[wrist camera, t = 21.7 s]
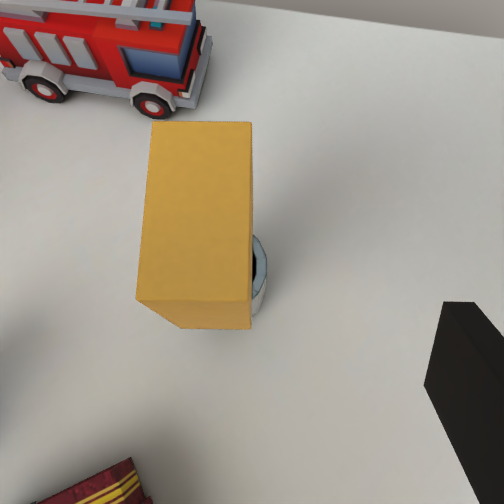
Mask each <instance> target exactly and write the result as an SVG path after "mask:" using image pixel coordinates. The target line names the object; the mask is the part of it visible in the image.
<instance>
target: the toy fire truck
mask: <svg viewBox="0 0 504 504" xmlns="http://www.w3.org/2000/svg"><path fill="white" fill-rule="evenodd" d="M212 45H213V43H212V36H207V31H206V27H205V26H201V23H200V20H196V10H195V0H0V55H1V57H0V62H1V63H2V64H3V65H4V68H3V70H2V73H3V75H4V76H5V77H6V78H7V79H8V80H11V81H18V82H20V83H21V85H22V88H23V89H25V90H26V89H28V90H29V91H30V92H31V93H33V94H34V95H35V96H36V97H38V98H40V99H42V100H45V101H47V102H50V103H61V101H62V100H63V98H64V96H65V94H67V92H68V89H69V90H76V91H82V92H89V93H95V94H101V95H108V96H114V97H121V98H127V99H130V104H131V106H135V107H136V108H137V109H138V110H139V111H140V112H141V113H142V114H144V115H146V116H148V117H150V118H152V119H166V118H167V117H168V116H170V114H171V111H175V108H176V106H179V107H185V108H192V109H196V107H197V103H198V99H199V95H200V91H201V87H202V84H203V80H204V76H205V72H206V68H207V64H208V61H209V57H210V53H211V49H212Z"/></svg>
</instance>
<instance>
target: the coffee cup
mask: <svg viewBox="0 0 504 504" xmlns="http://www.w3.org/2000/svg"><path fill="white" fill-rule="evenodd" d="M266 276H267V258H266V255H265V252H264V250H263V248H262V245H261V243H260V241H259V240H258V239H257V238H256V237H255V236H254V235H253V244H252V315H251V318H252V317H253V316H254V315H255V314H256V313H257V311H258V310H259V308H260V306H261V304H262V301H263V298H264V294H265V285H266Z"/></svg>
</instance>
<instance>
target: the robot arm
mask: <svg viewBox="0 0 504 504" xmlns="http://www.w3.org/2000/svg"><path fill="white" fill-rule="evenodd" d="M424 387H425V389H426V391H427V393H428V395H429V397H430V400H431V402H432V404H433V406H434V408H435V410H436V412H437V414H438V417H439V419H440V421H441V423H442V425H443V427H444V429H445V431H446V433H447V436H448V438H449V440H450V442H451V444H452V446H453V448H454V450H455V452H456V455H457V457H458V459H459V461H460V463H461V465H462V467H463V469H464V472H465V474H466V476H467V478H468V480H469V482H470V484H471V486H472V488H473V491H474V493H475V495H476V497H477V499H478V501H479V503H480V504H504V337H503V336H502V335H501V333H500V332H499V331H498V330H497V329H496V327H495V326H494V325H493V324H492V323H491V321H490V320H489V319H488V318H487V317H486V315H485V314H484V313H483V312H482V311H481V309H480V308H479V307H478V306H477V305H476V304H475V302H443V306H442V310H441V314H440V318H439V323H438V327H437V331H436V335H435V340H434V344H433V348H432V352H431V356H430V361H429V365H428V369H427V373H426V378H425V382H424Z"/></svg>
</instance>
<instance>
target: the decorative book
mask: <svg viewBox="0 0 504 504" xmlns="http://www.w3.org/2000/svg"><path fill="white" fill-rule="evenodd" d="M31 504H36V501H35V502H33V503H31ZM37 504H153V502H152V499H151V497H150V496H149V497H147V498H145V496H144V493H143V490H142V487H141V485H140V482H139V479H138V476H137V473H136V470H135V467H134V464H133V462H132V459H131V457H130V458H128V459H126V460H124V461H121V462H119V463H117V464H115V465H113V466H111V467H109V468H107V469H105V470H103V471H101V472H99V473H97V474H95V475H93V476H91V477H89V478H87V479H85V480H83V481H81V482H79V483H77V484H75V485H73V486H71V487H69V488H67V489H65V490H63V491H61V492H59V493H57V494H55V495H53V496H51V497H49V498H47V499H45V500H43V501H41V502H39V503H37Z"/></svg>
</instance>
